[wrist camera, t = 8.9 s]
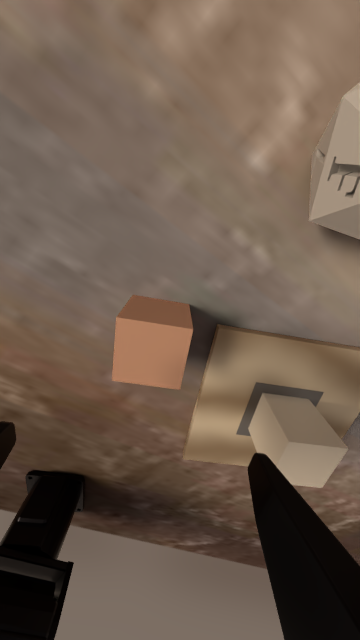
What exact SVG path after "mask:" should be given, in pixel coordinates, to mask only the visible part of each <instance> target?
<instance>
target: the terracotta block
mask: <svg viewBox="0 0 360 640" xmlns="http://www.w3.org/2000/svg"><path fill="white" fill-rule="evenodd" d="M192 333H193V324H192V318H191V313H190V307H189V304H184V303H178V302H172V301H167V300H161V299H155V298H149V297H143V296H137V295H132V297H131V298H130V300H129V301H128V302H127V304H126V305H125V306H124V308H123V309H122V310H121V312H120V313H119V314H118V316H117V317H116V331H115V345H114V359H113V373H112V381H119V382H127V383H134V384H141V385H149V386H156V387H163V388H171V389H178V390H180V387H181V383H182V378H183V374H184V369H185V365H186V360H187V356H188V351H189V347H190V342H191V338H192Z"/></svg>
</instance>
